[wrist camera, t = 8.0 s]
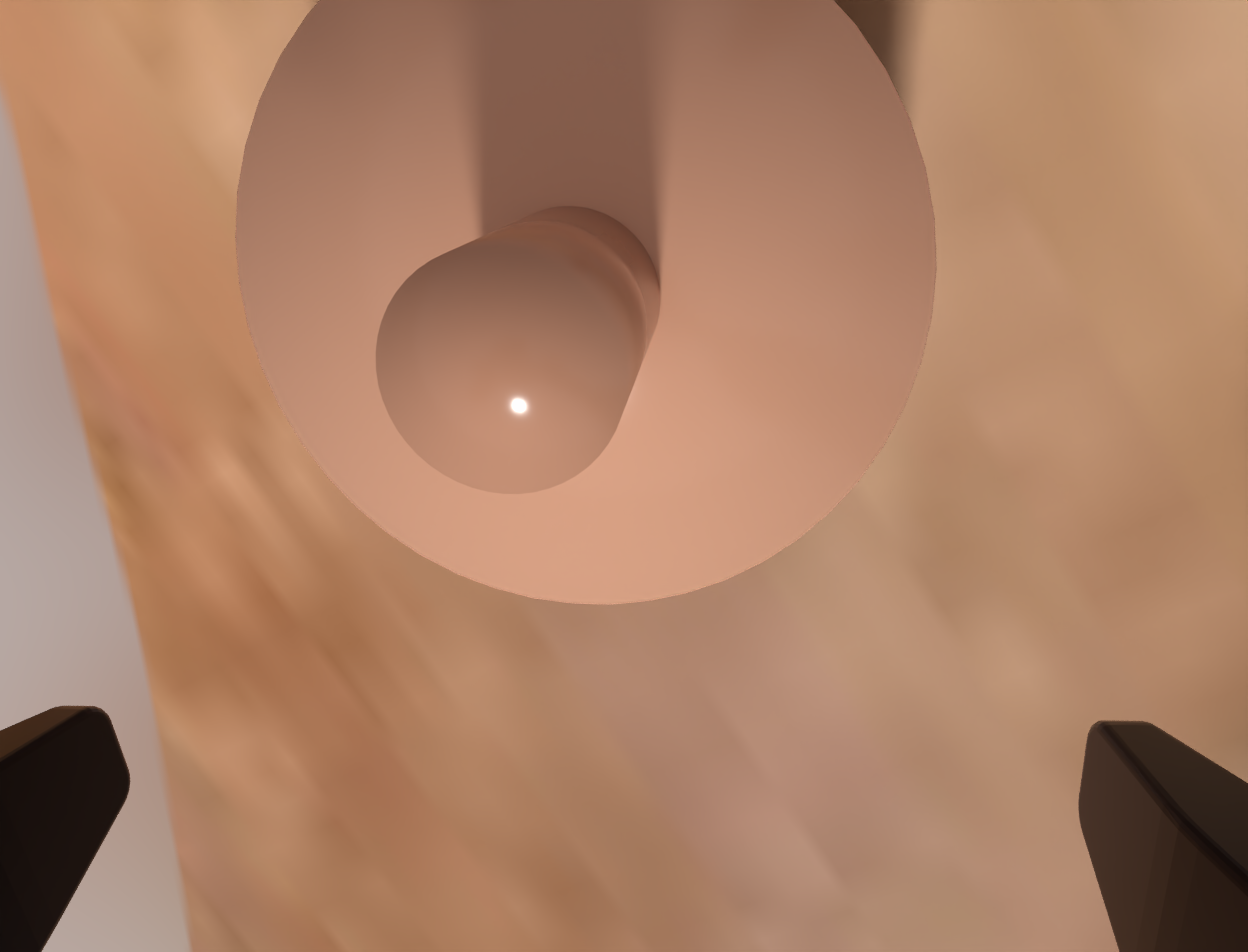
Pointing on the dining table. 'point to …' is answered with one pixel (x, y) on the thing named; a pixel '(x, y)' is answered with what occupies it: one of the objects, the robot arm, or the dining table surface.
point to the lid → (587, 278)
